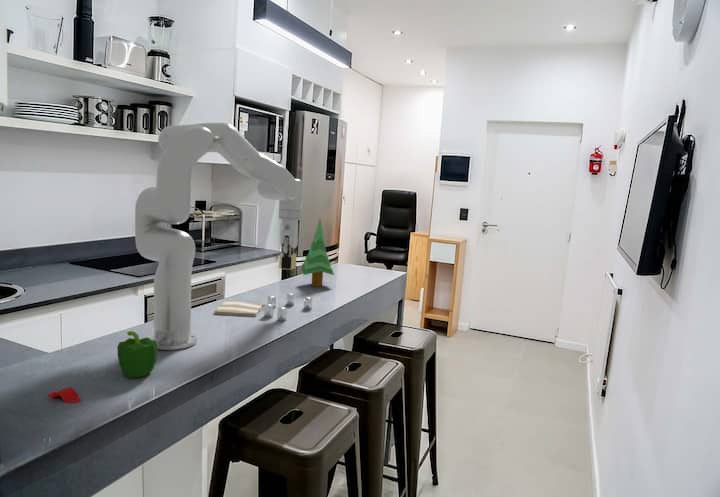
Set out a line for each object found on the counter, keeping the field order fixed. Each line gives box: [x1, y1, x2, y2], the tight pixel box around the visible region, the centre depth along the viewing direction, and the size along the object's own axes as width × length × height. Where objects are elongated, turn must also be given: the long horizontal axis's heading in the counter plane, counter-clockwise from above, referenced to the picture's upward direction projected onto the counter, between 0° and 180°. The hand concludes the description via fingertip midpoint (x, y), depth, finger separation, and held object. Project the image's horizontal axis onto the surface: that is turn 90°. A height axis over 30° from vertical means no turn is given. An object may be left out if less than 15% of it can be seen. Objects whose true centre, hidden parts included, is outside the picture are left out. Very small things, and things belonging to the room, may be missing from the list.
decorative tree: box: [300, 218, 335, 287], centre depth 220 cm, size 14×16×30 cm
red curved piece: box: [48, 386, 82, 404], centre depth 104 cm, size 8×3×2 cm, turn 68°
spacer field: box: [263, 292, 313, 322], centre depth 177 cm, size 23×16×4 cm
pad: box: [213, 300, 265, 317], centre depth 176 cm, size 14×14×1 cm
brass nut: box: [278, 252, 297, 271], centre depth 175 cm, size 5×6×5 cm
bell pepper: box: [117, 330, 158, 379], centre depth 117 cm, size 8×8×10 cm
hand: (287, 266), depth 175 cm, fingers closed on brass nut, 5 cm apart
